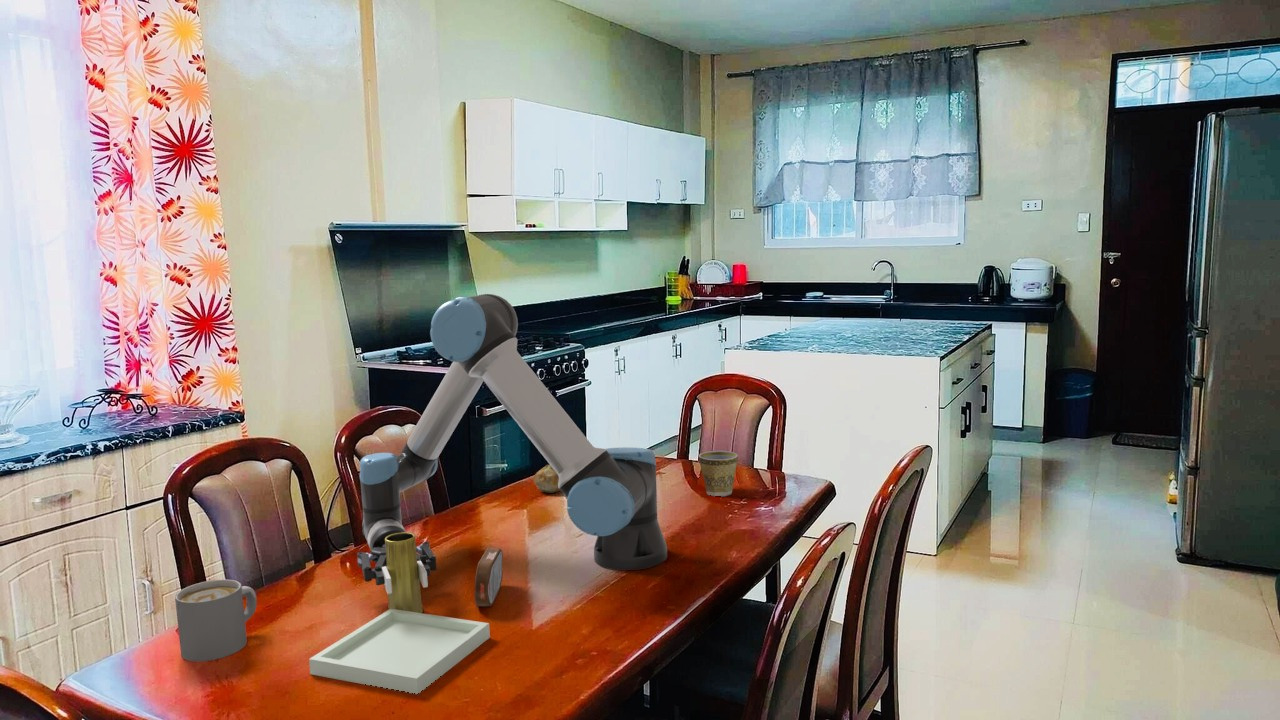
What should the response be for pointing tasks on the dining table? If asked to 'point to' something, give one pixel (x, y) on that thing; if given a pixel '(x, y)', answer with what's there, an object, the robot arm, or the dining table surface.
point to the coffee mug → (213, 619)
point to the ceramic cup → (718, 471)
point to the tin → (488, 577)
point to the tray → (400, 650)
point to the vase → (403, 572)
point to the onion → (547, 480)
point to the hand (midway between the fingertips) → (407, 582)
